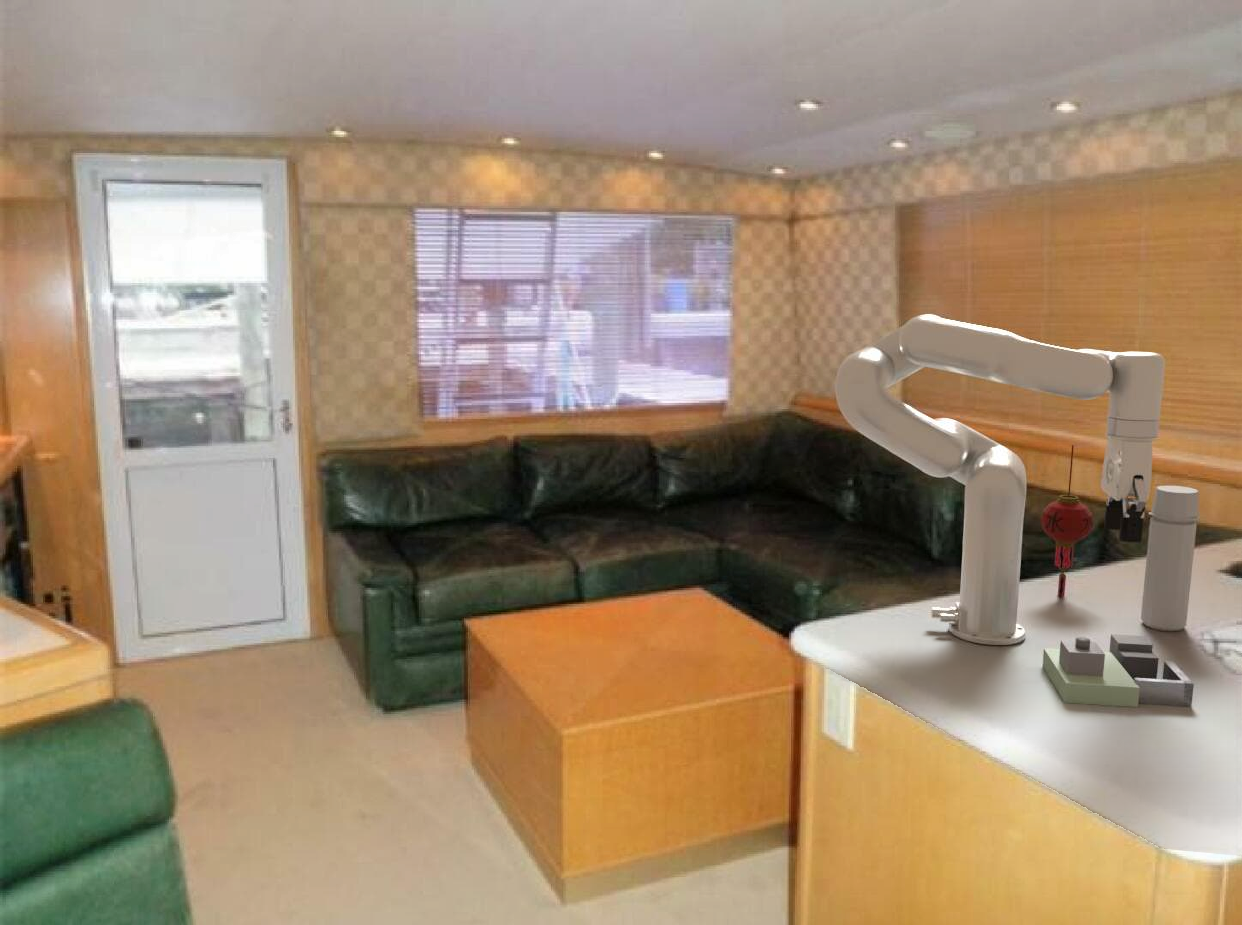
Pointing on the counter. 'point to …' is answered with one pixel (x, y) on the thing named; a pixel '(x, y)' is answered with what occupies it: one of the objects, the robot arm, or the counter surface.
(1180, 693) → the side bracket
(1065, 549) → the lantern
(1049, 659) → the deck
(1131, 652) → the gray stepped block
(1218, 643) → the counter surface
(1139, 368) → the robot arm
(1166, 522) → the water bottle
